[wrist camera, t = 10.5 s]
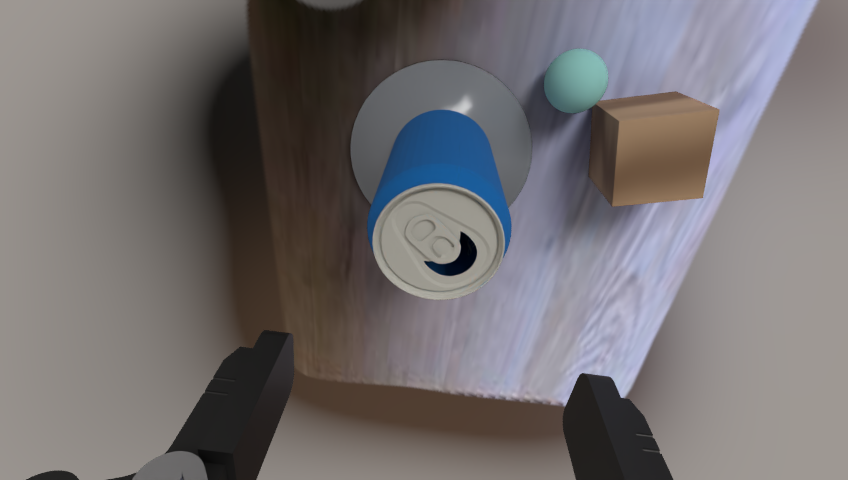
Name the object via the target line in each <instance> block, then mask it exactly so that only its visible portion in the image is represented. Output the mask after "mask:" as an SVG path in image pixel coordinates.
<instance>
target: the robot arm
mask: <svg viewBox="0 0 848 480" xmlns="http://www.w3.org/2000/svg"><path fill="white" fill-rule="evenodd" d="M293 377H294V351H293V335H292V334H291V333H284V332H276V331H269V330H264V331H263V332H262V333H261V335H260V336H259V338H258V340H257V342H256V344H255V346H254V347H253V348H246V347H239V348H238V349H237V350H236V351H234V353H232V354H231V355H230V356H228V357H227V358H226V359H224V360H223V362H222V364H221V366H220V367H219V369H218V370H217V372H216V374H215V375H214V378H213V380H211V382H210V383H209V385H208V387H207V388H206V390H205V393H204V394H203V395H202V396H201V398H200V400H199V402H198V403H197V404H196V406H195V408H194V409H193V411H192V413H191V414H190V416H189V418H188V419H187V421H186V422H185V424H184V426H183V427H182V429H181V431H180V432H179V434H178V435H177V437H176V439H175V440H174V442H173V444H172V445H171V447H170V448H169V450H168V451H167V452H166V453H165V454H163V455H161V456H159V457H156V458H155V459H153V460H151V461H150V462H148V463H147V464H146V465H144V466H143V467H142V468H141V469H140V470H139V471H138V472H137V473H134V474H131V475H128V476H125V477H119V478H114V479H108V480H256V479H257V476H258V474H259V471H260V469H261V466H262V463H263V461H264V458H265V456H266V454H267V451H268V448H269V446H270V443H271V441H272V438H273V436H274V433H275V431H276V428H277V426H278V423H279V421H280V418H281V415H282V413H283V411H284V408H285V406H286V403H287V400H288V398H289V395H290V392H291V388H292V384H293V379H294V378H293ZM563 431H564V435H565V439H566V443H567V446H568V450H569V454H570V458H571V462H572V466H573V469H574V473H575V477H576V480H673V478H672V476H671V474H670V471H669V469H668V467H667V465H666V463H665V460H664V458H663V456H662V454H660V452H659V451H660V450H659V447H658V445H657V443H656V441H655V439H654V438H653V437H652V435H653V434H652V432H651V430H650V428H649V426H648V424H647V421H646V419H645V417H644V416H643V414H642V413H641V412H640V411H639V410H638V409H637V408H636V407H635V405H634V404H633V403H632V402H631V401H630V400H629V399H625V398H621V397H620V395H619V393H618V390H617V388H616V385H615V383H614V381H613V380H612V378H611V377H608V376H600V375H592V374H585V373H582V374H580V375H579V377H578V379H577V381H576V384H575V386H574V388H573V391H572V393H571V395H570V398H569V400H568V402H567V404H566V407H565V409H564V413H563ZM26 480H79V479H78V478H77V476H75V475H74V474H73V473H70V472H67V471H49V472H45V473H41V474H38V475H35V476H33V477H31V478H29V479H26Z"/></svg>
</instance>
